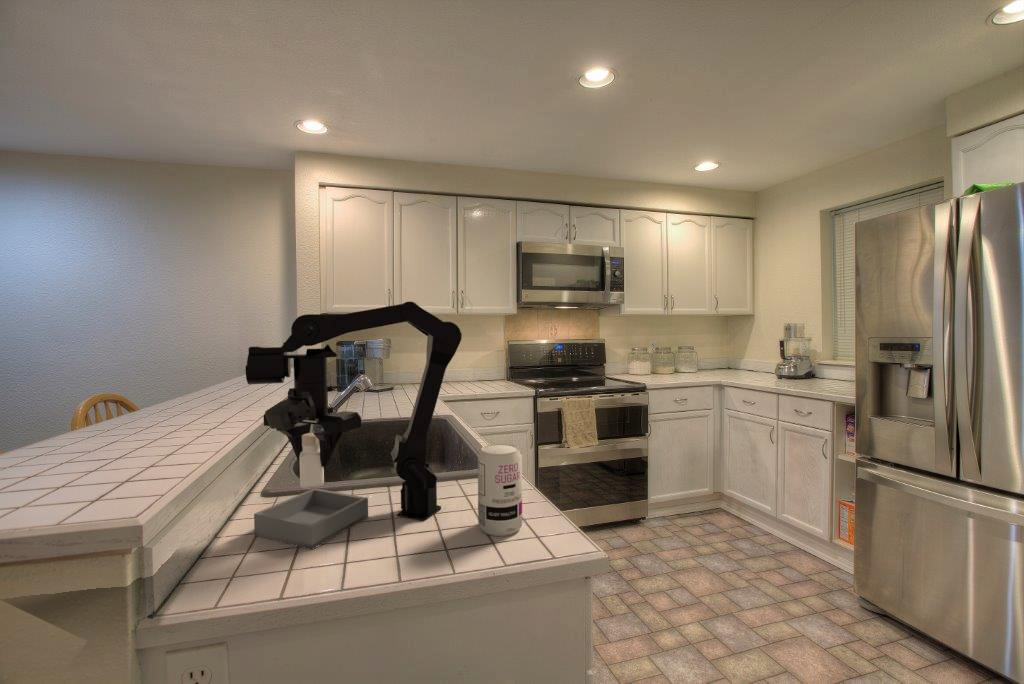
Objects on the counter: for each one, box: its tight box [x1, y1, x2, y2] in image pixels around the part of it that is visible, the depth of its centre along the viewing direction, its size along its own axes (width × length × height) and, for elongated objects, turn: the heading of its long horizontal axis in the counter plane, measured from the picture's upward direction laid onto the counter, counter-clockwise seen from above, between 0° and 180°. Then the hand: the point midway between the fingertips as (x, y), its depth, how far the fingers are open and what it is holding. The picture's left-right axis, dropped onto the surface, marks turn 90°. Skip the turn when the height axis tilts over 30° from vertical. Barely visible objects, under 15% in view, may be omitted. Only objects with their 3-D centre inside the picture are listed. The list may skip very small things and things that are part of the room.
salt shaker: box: [299, 432, 325, 489], centre depth 86 cm, size 4×4×10 cm
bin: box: [253, 487, 369, 550], centre depth 88 cm, size 14×14×4 cm
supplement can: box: [477, 443, 523, 537], centre depth 86 cm, size 8×8×15 cm
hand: (313, 464), depth 87 cm, fingers closed on salt shaker, 5 cm apart
